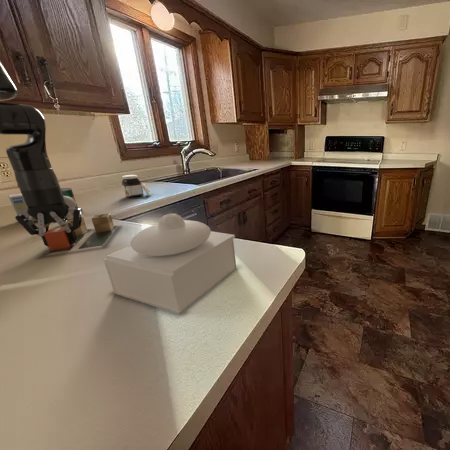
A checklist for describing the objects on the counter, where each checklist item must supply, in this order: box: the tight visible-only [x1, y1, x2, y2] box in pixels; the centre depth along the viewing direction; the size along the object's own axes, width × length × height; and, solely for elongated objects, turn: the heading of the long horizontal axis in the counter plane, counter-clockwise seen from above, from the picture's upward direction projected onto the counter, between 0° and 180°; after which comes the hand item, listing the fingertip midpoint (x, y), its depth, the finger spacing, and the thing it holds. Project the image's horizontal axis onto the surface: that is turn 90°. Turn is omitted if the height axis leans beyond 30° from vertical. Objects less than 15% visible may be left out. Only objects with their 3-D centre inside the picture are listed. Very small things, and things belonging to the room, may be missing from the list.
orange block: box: [44, 227, 73, 250], centre depth 70 cm, size 4×4×5 cm
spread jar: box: [121, 174, 152, 199], centre depth 134 cm, size 12×11×12 cm
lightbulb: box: [64, 196, 77, 218], centre depth 91 cm, size 6×6×11 cm
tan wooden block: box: [91, 213, 115, 233], centre depth 82 cm, size 4×4×5 cm
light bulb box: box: [7, 193, 38, 223], centre depth 97 cm, size 11×7×11 cm, turn 143°
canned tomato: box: [60, 187, 79, 208], centre depth 101 cm, size 8×8×11 cm
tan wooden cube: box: [68, 216, 88, 235], centre depth 80 cm, size 4×4×5 cm
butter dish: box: [103, 213, 237, 315], centre depth 52 cm, size 18×18×16 cm
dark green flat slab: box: [43, 225, 118, 255], centre depth 77 cm, size 14×20×1 cm
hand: (62, 244), depth 71 cm, fingers closed on orange block, 4 cm apart
